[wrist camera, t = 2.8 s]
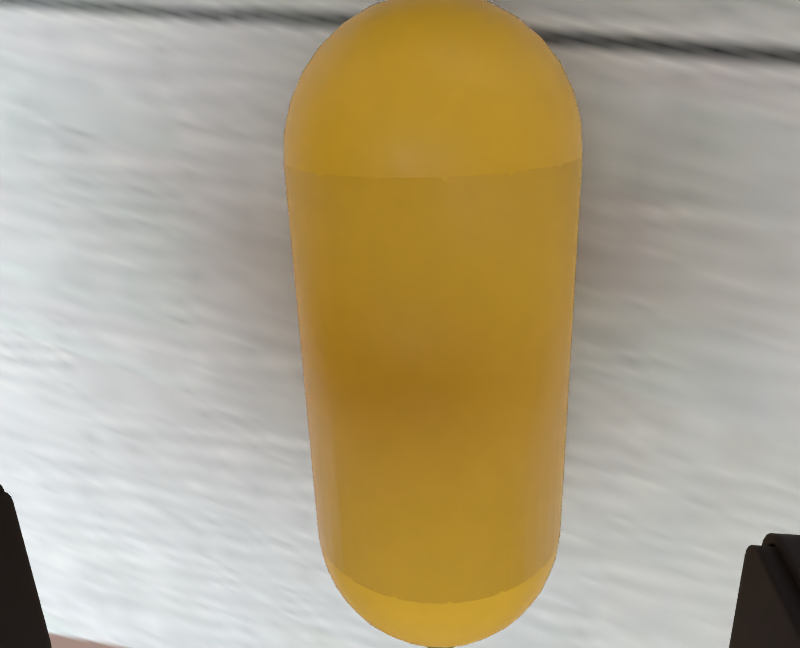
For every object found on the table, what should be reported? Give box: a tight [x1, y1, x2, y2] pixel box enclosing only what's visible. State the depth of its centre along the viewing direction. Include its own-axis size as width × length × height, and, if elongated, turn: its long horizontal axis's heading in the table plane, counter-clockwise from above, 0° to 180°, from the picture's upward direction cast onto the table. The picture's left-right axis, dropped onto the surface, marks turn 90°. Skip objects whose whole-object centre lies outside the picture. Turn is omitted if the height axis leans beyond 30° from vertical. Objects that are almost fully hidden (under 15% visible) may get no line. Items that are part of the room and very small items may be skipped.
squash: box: [284, 0, 583, 648], centre depth 15 cm, size 15×6×6 cm, turn 2°
